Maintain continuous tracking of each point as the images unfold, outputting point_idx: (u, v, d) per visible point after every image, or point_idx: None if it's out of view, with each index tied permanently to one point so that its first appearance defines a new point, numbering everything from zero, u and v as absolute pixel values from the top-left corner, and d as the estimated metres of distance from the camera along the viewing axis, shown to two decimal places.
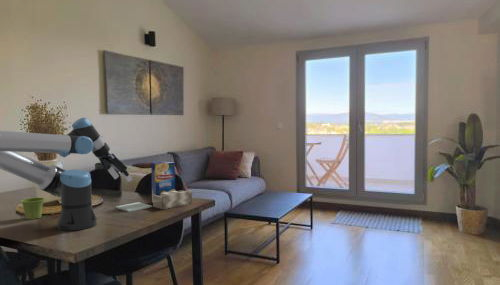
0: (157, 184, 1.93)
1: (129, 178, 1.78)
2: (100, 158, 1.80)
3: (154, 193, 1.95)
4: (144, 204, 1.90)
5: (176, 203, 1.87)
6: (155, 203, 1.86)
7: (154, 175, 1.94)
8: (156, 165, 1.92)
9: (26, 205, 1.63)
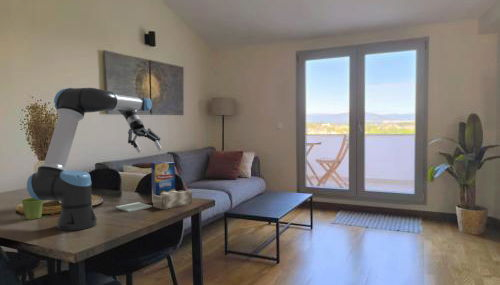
0: (157, 184, 1.93)
1: None
2: (131, 132, 2.07)
3: (154, 193, 1.95)
4: (144, 204, 1.90)
5: (176, 203, 1.87)
6: (155, 203, 1.86)
7: (154, 175, 1.94)
8: (156, 165, 1.92)
9: (26, 205, 1.63)
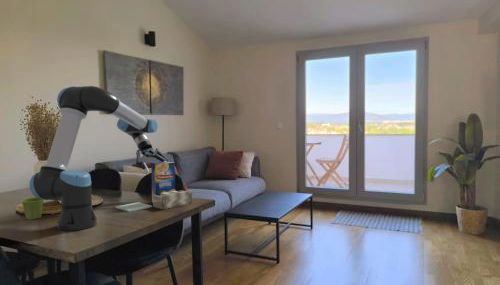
0: (157, 184, 1.93)
1: None
2: (140, 153, 2.04)
3: (154, 193, 1.95)
4: (144, 204, 1.90)
5: (176, 203, 1.87)
6: (155, 203, 1.86)
7: (154, 175, 1.94)
8: (156, 165, 1.92)
9: (26, 205, 1.63)
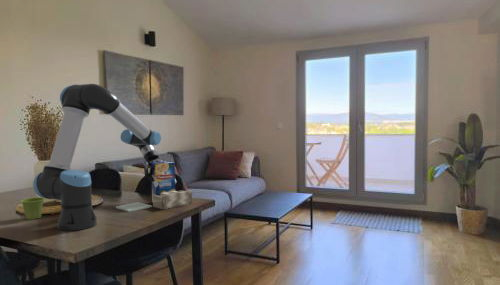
0: None
1: None
2: (147, 164, 1.98)
3: (154, 193, 1.95)
4: (144, 204, 1.90)
5: (176, 203, 1.87)
6: (155, 203, 1.86)
7: (154, 175, 1.94)
8: (156, 165, 1.92)
9: (26, 205, 1.63)
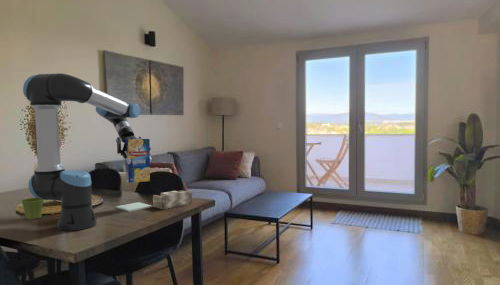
0: None
1: None
2: None
3: (127, 171, 1.84)
4: (144, 204, 1.90)
5: (176, 203, 1.87)
6: (155, 203, 1.86)
7: (127, 152, 1.83)
8: (129, 141, 1.81)
9: (26, 205, 1.63)
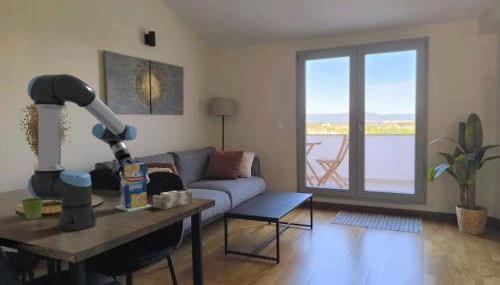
0: (126, 186, 1.81)
1: None
2: None
3: (124, 196, 1.83)
4: None
5: (176, 203, 1.87)
6: (155, 203, 1.86)
7: (123, 177, 1.82)
8: (125, 166, 1.80)
9: (26, 205, 1.63)
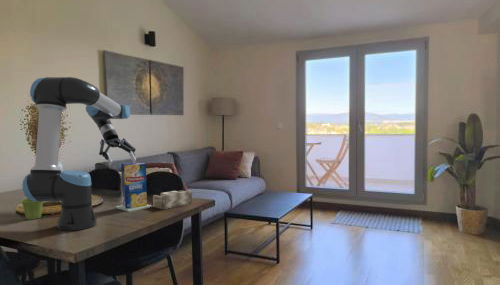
0: (126, 186, 1.81)
1: None
2: (104, 142, 1.94)
3: (124, 196, 1.83)
4: None
5: (176, 203, 1.87)
6: (155, 203, 1.86)
7: (123, 177, 1.82)
8: (125, 166, 1.80)
9: (26, 205, 1.63)
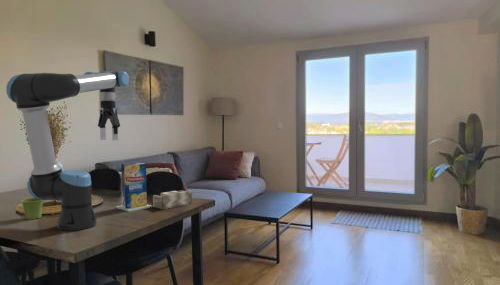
0: (126, 186, 1.81)
1: (115, 137, 1.89)
2: (101, 114, 1.97)
3: (124, 196, 1.83)
4: None
5: (176, 203, 1.87)
6: (155, 203, 1.86)
7: (123, 177, 1.82)
8: (125, 166, 1.80)
9: (26, 205, 1.63)
